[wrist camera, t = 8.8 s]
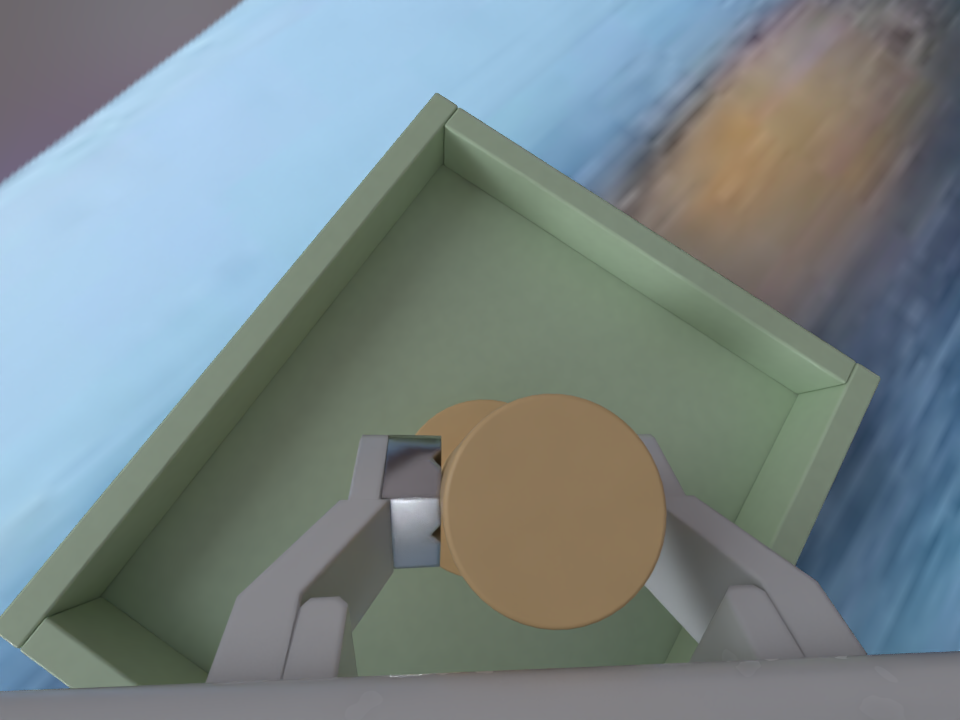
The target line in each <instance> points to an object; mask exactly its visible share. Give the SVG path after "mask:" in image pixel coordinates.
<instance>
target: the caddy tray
mask: <svg viewBox="0 0 960 720" xmlns="http://www.w3.org/2000/svg"><path fill="white" fill-rule="evenodd" d="M879 382H880V377H879V376H878V375H876V374H875V373H873V372H871V371H870V370H868V369H867V368H865V367H864V366H862V365H860V364H858V363H855V361H854V360H853V359H851V358H850V357H848V356H846V355H845V354H843V353H842V352H840V351H839V350H837V349H835V348H834V347H832V346H831V345H829V344H828V343H826V342H825V341H823V340H821V339H820V338H818V337H817V336H815V335H814V334H812V333H811V332H809V331H807V330H806V329H804V328H803V327H801V326H800V325H798V324H797V323H795V322H793V321H792V320H790V319H789V318H787V317H786V316H784V315H782V314H781V313H779V312H778V311H776V310H775V309H773V308H772V307H770V306H768V305H767V304H765V303H764V302H762V301H761V300H759V299H758V298H756V297H754V296H753V295H751V294H750V293H748V292H747V291H745V290H744V289H742V288H740V287H739V286H737V285H736V284H734V283H733V282H731V281H729V280H728V279H726V278H725V277H723V276H722V275H720V274H719V273H717V272H715V271H714V270H712V269H711V268H709V267H708V266H706V265H705V264H703V263H701V262H700V261H698V260H697V259H695V258H694V257H692V256H691V255H689V254H687V253H686V252H684V251H683V250H681V249H680V248H678V247H676V246H675V245H673V244H672V243H670V242H669V241H667V240H666V239H664V238H662V237H661V236H659V235H658V234H656V233H655V232H653V231H652V230H650V229H648V228H647V227H645V226H644V225H642V224H641V223H639V222H638V221H636V220H634V219H633V218H631V217H630V216H628V215H627V214H625V213H623V212H622V211H620V210H619V209H617V208H616V207H614V206H613V205H611V204H609V203H608V202H606V201H605V200H603V199H602V198H600V197H599V196H597V195H595V194H594V193H592V192H591V191H589V190H588V189H586V188H585V187H583V186H581V185H580V184H578V183H577V182H575V181H574V180H572V179H570V178H569V177H567V176H566V175H564V174H563V173H561V172H560V171H558V170H556V169H555V168H553V167H552V166H550V165H549V164H547V163H546V162H544V161H542V160H541V159H539V158H538V157H536V156H535V155H533V154H532V153H530V152H528V151H527V150H525V149H524V148H522V147H521V146H519V145H517V144H516V143H514V142H513V141H511V140H510V139H508V138H507V137H505V136H503V135H502V134H500V133H499V132H497V131H496V130H494V129H493V128H491V127H489V126H488V125H486V124H485V123H483V122H482V121H480V120H479V119H477V118H475V117H474V116H472V115H471V114H469V113H468V112H466V111H464V110H463V109H461V108H458V107H457V105H456V104H454V103H452V102H451V101H449V100H448V99H446V98H445V97H443V96H442V95H440V94H438V93H435V94H434V96H433V97H432V98H431V99H430V100H429V102H428V103H427V104H426V105H425V107H424V108H423V109H422V110H421V111H420V113H419V114H418V115H417V116H416V117H415V119H414V120H413V121H412V122H411V123H410V125H409V126H408V127H407V128H406V129H405V131H404V132H403V133H402V134H401V135H400V137H399V138H398V139H397V140H396V141H395V143H394V144H393V145H392V146H391V147H390V149H389V150H388V151H387V152H386V153H385V155H384V156H383V157H382V158H381V159H380V161H379V162H378V163H377V164H376V165H375V167H374V168H373V169H372V170H371V171H370V173H369V174H368V175H367V176H366V177H365V179H364V180H363V181H362V182H361V183H360V185H359V186H358V187H357V188H356V189H355V191H354V192H353V193H352V194H351V195H350V197H349V198H348V199H347V200H346V201H345V203H344V204H343V205H342V206H341V208H340V209H339V210H338V211H337V212H336V214H335V215H334V216H333V217H332V218H331V220H330V221H329V222H328V223H327V224H326V226H325V227H324V228H323V229H322V230H321V232H320V233H319V234H318V235H317V236H316V238H315V239H314V240H313V241H312V242H311V244H310V245H309V246H308V247H307V248H306V250H305V251H304V252H303V253H302V254H301V256H300V257H299V258H298V259H297V260H296V262H295V263H294V264H293V265H292V266H291V268H290V269H289V270H288V271H287V272H286V274H285V275H284V276H283V277H282V278H281V280H280V281H279V282H278V283H277V284H276V286H275V287H274V288H273V289H272V290H271V292H270V293H269V294H268V295H267V296H266V298H265V299H264V300H263V301H262V302H261V304H260V305H259V306H258V307H257V309H256V310H255V311H254V312H253V313H252V315H251V316H250V317H249V318H248V319H247V321H246V322H245V323H244V324H243V325H242V327H241V328H240V329H239V330H238V331H237V333H236V334H235V335H234V336H233V337H232V339H231V340H230V341H229V342H228V343H227V345H226V346H225V347H224V348H223V349H222V351H221V352H220V353H219V354H218V355H217V357H216V358H215V359H214V360H213V361H212V363H211V364H210V365H209V366H208V367H207V369H206V370H205V371H204V372H203V373H202V375H201V376H200V377H199V378H198V379H197V381H196V382H195V383H194V384H193V385H192V387H191V388H190V389H189V390H188V391H187V393H186V394H185V395H184V396H183V397H182V399H181V400H180V401H179V402H178V403H177V405H176V406H175V407H174V408H173V410H172V411H171V412H170V413H169V414H168V416H167V417H166V418H165V419H164V420H163V422H162V423H161V424H160V425H159V426H158V428H157V429H156V430H155V431H154V432H153V434H152V435H151V436H150V437H149V438H148V440H147V441H146V442H145V443H144V444H143V446H142V447H141V448H140V449H139V450H138V452H137V453H136V454H135V455H134V456H133V458H132V459H131V460H130V461H129V462H128V464H127V465H126V466H125V467H124V468H123V470H122V471H121V472H120V473H119V474H118V476H117V477H116V478H115V479H114V480H113V482H112V483H111V484H110V485H109V486H108V488H107V489H106V490H105V491H104V492H103V494H102V495H101V496H100V497H99V498H98V500H97V501H96V502H95V503H94V505H93V506H92V507H91V508H90V509H89V511H88V512H87V513H86V514H85V515H84V517H83V518H82V519H81V520H80V521H79V523H78V524H77V525H76V526H75V527H74V529H73V530H72V531H71V532H70V533H69V535H68V536H67V537H66V538H65V539H64V541H63V542H62V543H61V544H60V545H59V547H58V548H57V549H56V550H55V551H54V553H53V554H52V555H51V556H50V557H49V559H48V560H47V561H46V562H45V563H44V565H43V566H42V567H41V568H40V569H39V571H38V572H37V573H36V574H35V575H34V577H33V578H32V579H31V580H30V581H29V583H28V584H27V585H26V586H25V587H24V589H23V590H22V591H21V592H20V593H19V595H18V596H17V597H16V598H15V599H14V601H13V602H12V603H11V604H10V606H9V607H8V608H7V609H6V610H5V612H4V613H3V614H2V615H1V616H0V636H1V637H2V638H4V639H5V640H6V641H8V642H9V643H10V644H12V645H13V646H14V647H16V648H21V649H20V650H21V652H22V653H24V654H25V655H26V656H28V657H29V658H30V659H32V660H33V661H35V662H36V663H37V664H39V665H40V666H41V667H43V668H44V669H45V670H47V671H48V672H49V673H51V674H52V675H53V676H55V677H56V678H57V679H59V680H60V681H62V682H63V683H64V684H66V685H67V686H68V687H70V688H93V687H117V686H141V685H165V684H189V683H206V680H207V677H208V674H209V672H210V669H211V666H212V664H213V661H214V658H215V655H216V653H217V650H218V647H219V644H220V642H221V639H222V636H223V633H224V631H225V628H226V625H227V622H228V620H229V617H230V614H231V611H232V609H233V606H234V603H235V601H236V598H237V596H238V595H239V594H240V593H241V592H242V591H243V590H245V589H246V588H247V587H248V586H249V585H250V584H251V583H252V582H253V581H254V580H255V579H256V578H257V577H258V576H259V575H260V574H262V573H263V572H264V571H265V570H266V569H267V568H268V567H269V566H270V565H271V564H272V563H273V562H274V561H275V560H276V559H277V558H279V557H280V556H281V555H282V554H283V553H284V552H285V551H286V550H287V549H288V548H289V547H290V546H291V545H292V544H293V543H294V542H296V541H297V540H298V539H299V538H300V537H301V536H302V535H303V534H304V533H305V532H306V531H307V530H308V529H309V528H310V527H311V526H313V525H314V524H315V523H316V522H317V521H318V520H319V519H320V518H321V517H322V516H323V515H324V514H325V513H326V512H327V511H328V510H330V509H331V508H332V507H333V506H334V505H335V504H336V503H337V502H338V501H339V500H348V497H349V492H350V487H351V482H352V477H353V472H354V467H355V462H356V457H357V451H358V446H359V441H360V439H361V437H362V435H389V436H390V435H434V436H441V468H442V479H441V490H440V505H441V550H440V567H424V568H405V569H393V570H394V572H393V574H392V575H391V577H390V578H389V579H388V581H387V582H386V584H385V585H384V587H383V588H382V590H381V591H380V593H379V594H378V595H377V597H376V598H375V600H374V601H373V603H372V604H371V606H370V607H369V609H368V610H367V611H366V613H365V614H364V616H363V617H362V619H361V620H360V622H359V623H358V625H357V626H356V627H355V629H354V630H353V632H352V637H353V644H354V651H355V659H356V666H357V673H358V676H381V675H405V674H429V673H453V672H476V671H500V670H523V669H547V668H571V667H594V666H618V665H641V664H665V663H688V662H689V661H690V659H691V657H692V655H693V653H694V651H695V650H696V648H697V646H698V642H697V641H696V640H695V639H694V638H693V637H692V636H691V635H690V634H689V633H688V632H687V631H686V630H685V628H684V627H683V626H682V625H681V624H680V623H679V622H678V621H677V620H676V619H675V618H674V617H673V616H672V614H671V613H670V612H669V611H668V610H667V609H666V608H665V607H664V606H663V605H662V604H661V603H660V602H659V600H658V599H657V598H656V597H655V596H654V595H653V594H652V593H651V592H650V591H649V590H648V589H647V587H646V586H645V583H646V582H647V580H648V578H649V577H650V575H651V574H652V572H653V570H654V568H655V566H656V563H657V561H658V559H659V556H660V553H661V550H662V546H663V543H664V537H665V531H666V516H667V511H666V498H665V493H664V488H663V483H662V480H661V477H660V474H659V471H658V468H657V466H656V464H655V462H654V460H653V458H652V455H651V454H650V452H649V451H648V449H647V447H646V446H645V444H644V443H643V441H642V440H641V439H640V438H639V436H638V435H637V434H651V435H652V436H654V437H655V439H656V441H657V443H658V444H659V446H660V448H661V450H662V452H663V454H664V455H665V457H666V459H667V461H668V463H669V465H670V466H671V468H672V470H673V472H674V474H675V476H676V477H677V479H678V481H679V483H680V485H681V487H682V488H683V490H684V492H685V494H686V496H690V495H694V496H695V497H697V498H698V499H700V500H701V501H702V502H704V503H705V504H707V505H708V506H710V507H711V508H713V509H714V510H715V511H717V512H718V513H720V514H721V515H723V516H724V517H725V518H727V519H728V520H730V521H731V522H733V523H734V524H736V525H737V526H738V527H740V528H741V529H743V530H744V531H746V532H747V533H748V534H750V535H751V536H753V537H754V538H756V539H757V540H758V541H760V542H761V543H763V544H764V545H766V546H767V547H769V548H770V549H771V550H773V551H774V552H776V553H777V554H779V555H780V556H781V557H783V558H784V559H786V560H787V561H789V562H790V563H792V564H793V565H794V566H795V565H796V562H797V560H798V558H799V556H800V554H801V551H802V549H803V547H804V545H805V543H806V541H807V538H808V536H809V534H810V532H811V530H812V528H813V525H814V523H815V521H816V519H817V517H818V514H819V512H820V510H821V508H822V506H823V504H824V501H825V499H826V497H827V495H828V493H829V490H830V488H831V486H832V484H833V482H834V480H835V477H836V475H837V473H838V471H839V469H840V467H841V464H842V462H843V460H844V458H845V456H846V453H847V451H848V449H849V447H850V445H851V443H852V440H853V438H854V436H855V434H856V432H857V430H858V427H859V425H860V423H861V421H862V419H863V416H864V414H865V412H866V410H867V408H868V406H869V403H870V401H871V399H872V397H873V395H874V393H875V390H876V388H877V386H878V384H879Z"/></svg>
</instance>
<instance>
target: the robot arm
mask: <svg viewBox="0 0 960 720" xmlns="http://www.w3.org/2000/svg"><path fill="white" fill-rule="evenodd" d="M637 435H638V436H639V438H640V439H641V440H642V441H643V443H644V444H645V446H646V447H647V449H648V451H649V452H650V454H651V455H652V458H653V460H654V462H655V464H656V466H657V468H658V471H659V474H660V477H661V480H662V483H663V488H664V493H665V498H666V511H667V516H666V531H665V537H664V543H663V546H662V550H661V553H660V556H659V559H658V561H657V563H656V566H655V568H654V570H653V572H652V574H651V575H650V577H649V578H648V580H647V582H646V583H645V586H646V587H647V589H648V590H649V591H650V592H651V593H652V594H653V595H654V596H655V597H656V598H657V599H658V600H659V602H660V603H661V604H662V605H663V606H664V607H665V608H666V609H667V610H668V611H669V612H670V613H671V614H672V616H673V617H674V618H675V619H676V620H677V621H678V622H679V623H680V624H681V625H682V626H683V627H684V628H685V630H686V631H687V632H688V633H689V634H690V635H691V636H692V637H693V638H694V639H695V640H696V641H697V642H698V646H697V648H696V650H695V651H694V653H693V655H692V657H691V659H690V661H689V662H688V663H665V664H641V665H618V666H594V667H571V668H547V669H523V670H500V671H476V672H453V673H429V674H405V675H381V676H358V673H357V666H356V659H355V651H354V644H353V637H352V632H353V630H354V629H355V627H356V626H357V625H358V623H359V622H360V620H361V619H362V617H363V616H364V614H365V613H366V611H367V610H368V609H369V607H370V606H371V604H372V603H373V601H374V600H375V598H376V597H377V595H378V594H379V593H380V591H381V590H382V588H383V587H384V585H385V584H386V582H387V581H388V579H389V578H390V577H391V575H392V574H393V572H394V570H393V569H405V568H424V567H440V550H441V505H440V490H441V479H442V468H441V436H434V435H390V436H389V435H362V437H361V439H360V441H359V446H358V451H357V457H356V462H355V467H354V472H353V477H352V482H351V487H350V492H349V497H348V500H339V501H338V502H337V503H336V504H335V505H334V506H333V507H332V508H331V509H330V510H328V511H327V512H326V513H325V514H324V515H323V516H322V517H321V518H320V519H319V520H318V521H317V522H316V523H315V524H314V525H313V526H311V527H310V528H309V529H308V530H307V531H306V532H305V533H304V534H303V535H302V536H301V537H300V538H299V539H298V540H297V541H296V542H294V543H293V544H292V545H291V546H290V547H289V548H288V549H287V550H286V551H285V552H284V553H283V554H282V555H281V556H280V557H279V558H277V559H276V560H275V561H274V562H273V563H272V564H271V565H270V566H269V567H268V568H267V569H266V570H265V571H264V572H263V573H262V574H260V575H259V576H258V577H257V578H256V579H255V580H254V581H253V582H252V583H251V584H250V585H249V586H248V587H247V588H246V589H245V590H243V591H242V592H241V593H240V594H239V595H238V596H237V598H236V601H235V603H234V606H233V609H232V611H231V614H230V617H229V620H228V622H227V625H226V628H225V631H224V633H223V636H222V639H221V642H220V644H219V647H218V650H217V653H216V655H215V658H214V661H213V664H212V666H211V669H210V672H209V674H208V677H207V680H206V683H189V684H165V685H141V686H117V687H93V688H69V689H44V690H20V691H0V720H960V651H950V652H926V653H902V654H878V655H867V653H866V652H865V650H864V649H863V647H862V646H861V644H860V643H859V641H858V640H857V639H856V637H855V636H854V634H853V633H852V631H851V630H850V628H849V627H848V625H847V624H846V623H845V621H844V620H843V618H842V617H841V615H840V614H839V612H838V611H837V609H836V608H835V607H834V605H833V604H832V602H831V601H830V599H829V598H828V596H827V595H826V593H825V592H824V591H823V589H822V588H821V586H820V585H819V583H818V582H817V581H816V580H814V579H813V578H812V577H810V576H809V575H807V574H806V573H804V572H803V571H802V570H800V569H799V568H797V567H796V566H794V565H793V564H792V563H790V562H789V561H787V560H786V559H784V558H783V557H781V556H780V555H779V554H777V553H776V552H774V551H773V550H771V549H770V548H769V547H767V546H766V545H764V544H763V543H761V542H760V541H758V540H757V539H756V538H754V537H753V536H751V535H750V534H748V533H747V532H746V531H744V530H743V529H741V528H740V527H738V526H737V525H736V524H734V523H733V522H731V521H730V520H728V519H727V518H725V517H724V516H723V515H721V514H720V513H718V512H717V511H715V510H714V509H713V508H711V507H710V506H708V505H707V504H705V503H704V502H702V501H701V500H700V499H698V498H697V497H695V496H694V495H690V496H686V494H685V492H684V490H683V488H682V487H681V485H680V483H679V481H678V479H677V477H676V476H675V474H674V472H673V470H672V468H671V466H670V465H669V463H668V461H667V459H666V457H665V455H664V454H663V452H662V450H661V448H660V446H659V444H658V443H657V441H656V439H655V437H654V436H652V435H651V434H637Z"/></svg>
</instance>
